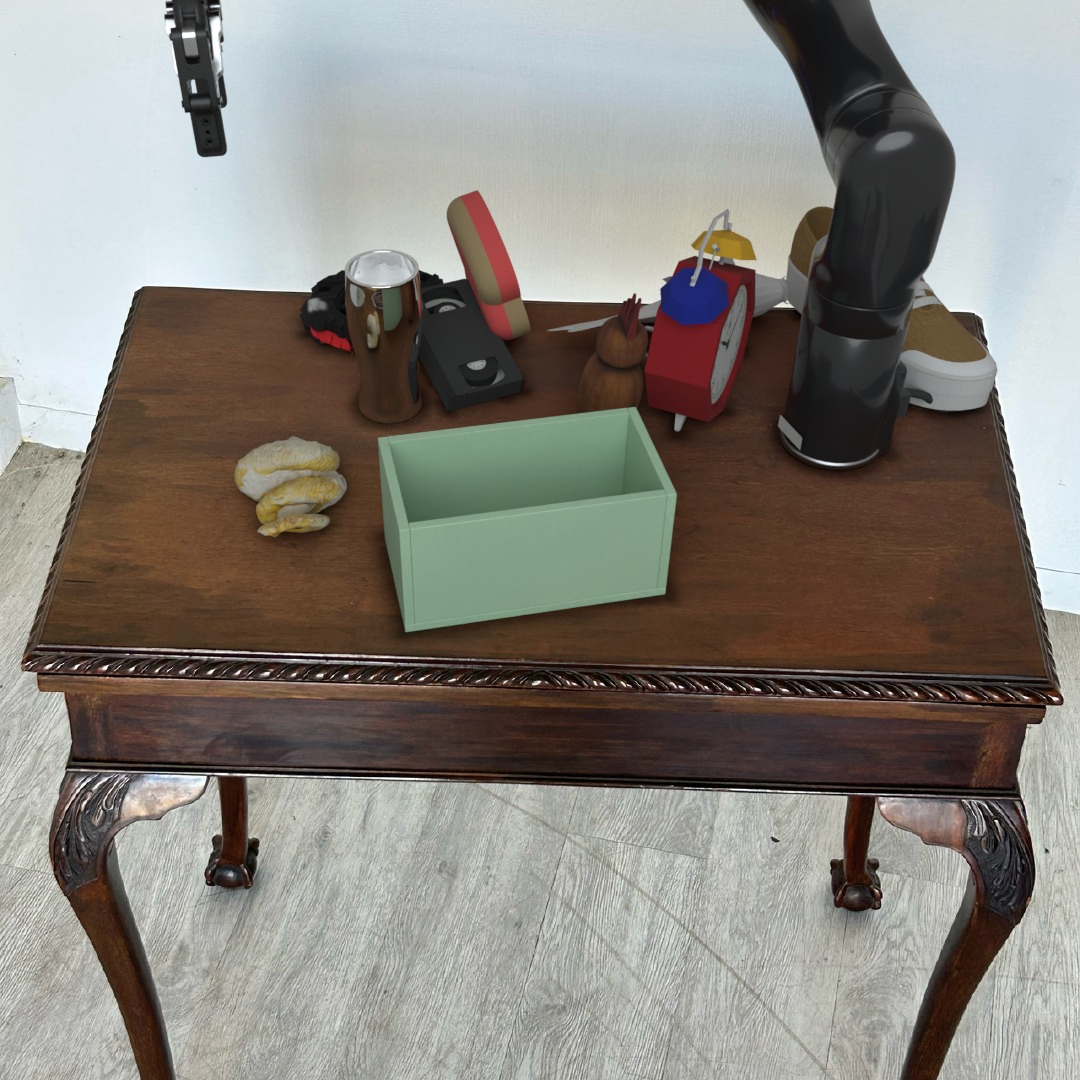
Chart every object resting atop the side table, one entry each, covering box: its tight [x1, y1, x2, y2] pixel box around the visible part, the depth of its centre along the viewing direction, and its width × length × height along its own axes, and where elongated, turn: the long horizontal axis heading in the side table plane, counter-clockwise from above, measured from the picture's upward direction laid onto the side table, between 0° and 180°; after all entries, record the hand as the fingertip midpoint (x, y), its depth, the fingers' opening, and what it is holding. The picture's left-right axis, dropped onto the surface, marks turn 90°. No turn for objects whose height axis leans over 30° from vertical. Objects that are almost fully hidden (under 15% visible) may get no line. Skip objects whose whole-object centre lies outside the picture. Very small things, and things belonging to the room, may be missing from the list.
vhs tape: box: [418, 278, 524, 413], centre depth 135 cm, size 14×8×2 cm, turn 26°
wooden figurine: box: [576, 292, 649, 414], centre depth 124 cm, size 7×6×15 cm
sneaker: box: [785, 205, 998, 412], centre depth 137 cm, size 10×29×10 cm, turn 27°
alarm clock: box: [642, 208, 758, 432], centre depth 126 cm, size 15×9×20 cm, turn 157°
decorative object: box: [446, 189, 532, 341], centre depth 137 cm, size 14×4×15 cm
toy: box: [299, 269, 444, 352], centre depth 142 cm, size 17×16×3 cm
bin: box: [377, 407, 678, 633], centre depth 111 cm, size 22×12×11 cm, turn 103°
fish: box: [546, 257, 790, 333], centre depth 141 cm, size 10×26×10 cm
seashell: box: [233, 435, 348, 538], centre depth 119 cm, size 10×6×15 cm
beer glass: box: [344, 248, 423, 424], centre depth 127 cm, size 7×7×15 cm
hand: (213, 130), depth 106 cm, fingers open, 8 cm apart
